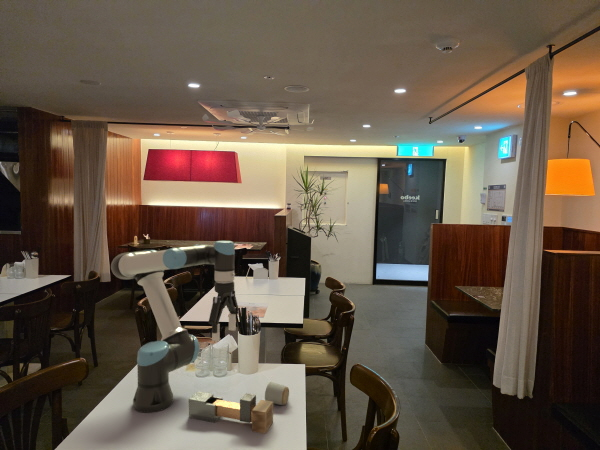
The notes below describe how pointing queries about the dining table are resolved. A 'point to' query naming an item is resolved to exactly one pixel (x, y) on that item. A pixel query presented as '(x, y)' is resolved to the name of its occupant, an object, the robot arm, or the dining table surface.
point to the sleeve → (203, 407)
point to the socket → (262, 416)
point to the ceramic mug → (277, 393)
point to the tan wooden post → (237, 408)
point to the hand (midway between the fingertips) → (224, 335)
